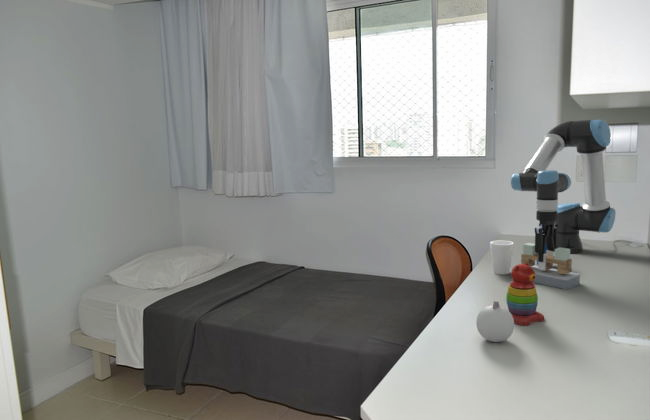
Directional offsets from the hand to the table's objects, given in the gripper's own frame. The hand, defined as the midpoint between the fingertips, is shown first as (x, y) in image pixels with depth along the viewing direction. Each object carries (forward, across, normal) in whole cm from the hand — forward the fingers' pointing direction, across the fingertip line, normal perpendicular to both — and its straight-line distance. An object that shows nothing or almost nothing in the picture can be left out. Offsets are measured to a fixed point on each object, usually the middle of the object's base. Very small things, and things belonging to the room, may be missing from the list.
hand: (545, 268), depth 197 cm
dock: (+5, 0, 0) cm, 5 cm away
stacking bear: (+6, +43, +16) cm, 46 cm away
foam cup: (+5, +1, -19) cm, 20 cm away
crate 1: (-5, 0, -6) cm, 8 cm away
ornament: (+6, +64, +20) cm, 67 cm away
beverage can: (+5, -21, -12) cm, 25 cm away
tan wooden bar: (0, 0, 0) cm, 0 cm away
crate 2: (-5, 0, +6) cm, 8 cm away
